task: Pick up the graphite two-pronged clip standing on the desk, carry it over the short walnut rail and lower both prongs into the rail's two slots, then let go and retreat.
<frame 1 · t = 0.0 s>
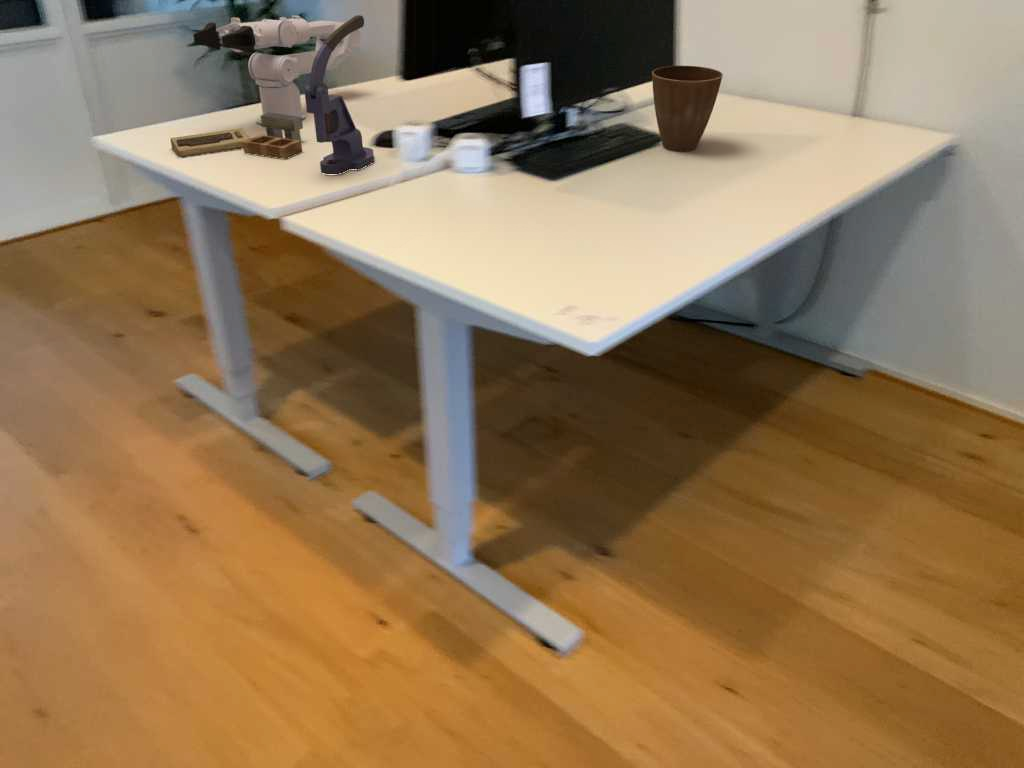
hand: (209, 40, 181), 22 cm above the table, tool horizontal, fingers open, 7 cm apart
rail: (273, 152, 186), on the table
hand press: (348, 165, 179), on the table
computer: (212, 151, 189), on the table
clip: (284, 140, 194), on the table
plant pot: (679, 147, 191), on the table
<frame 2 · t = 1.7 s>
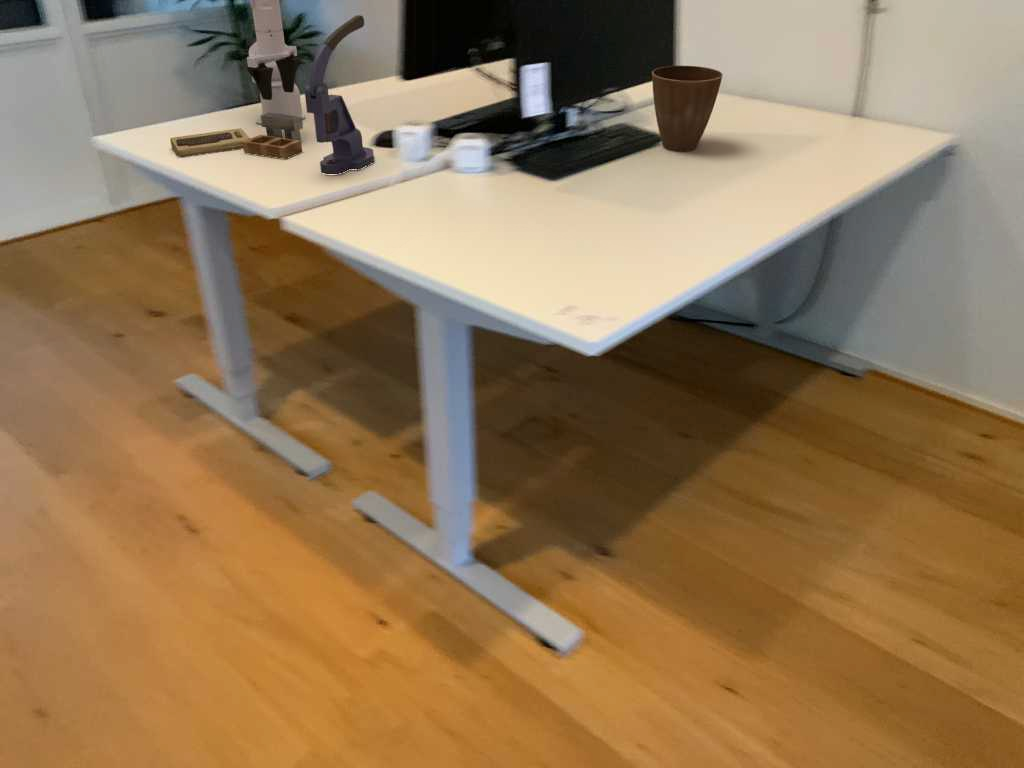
hand: (278, 95, 189), 10 cm above the table, tool pointing down, fingers open, 7 cm apart
nothing on the table moved.
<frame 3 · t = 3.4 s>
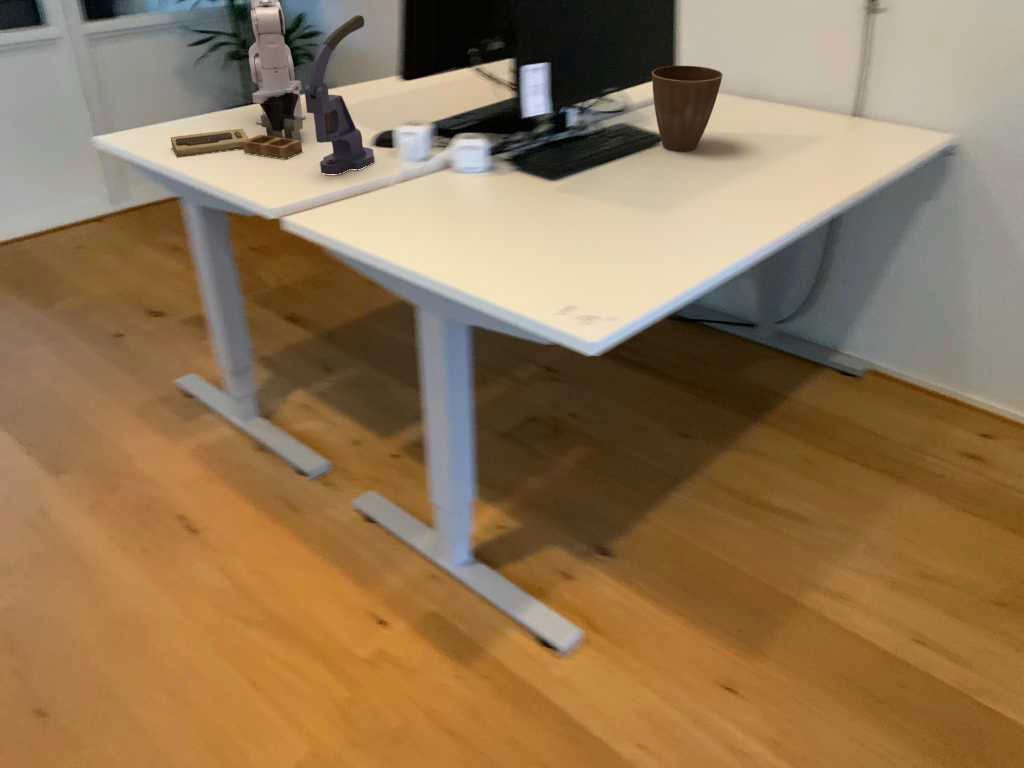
hand: (282, 129, 193), 3 cm above the table, tool pointing down, fingers closed on clip, 3 cm apart
clip: (284, 140, 194), on the table, touching gripper
everything else where it was.
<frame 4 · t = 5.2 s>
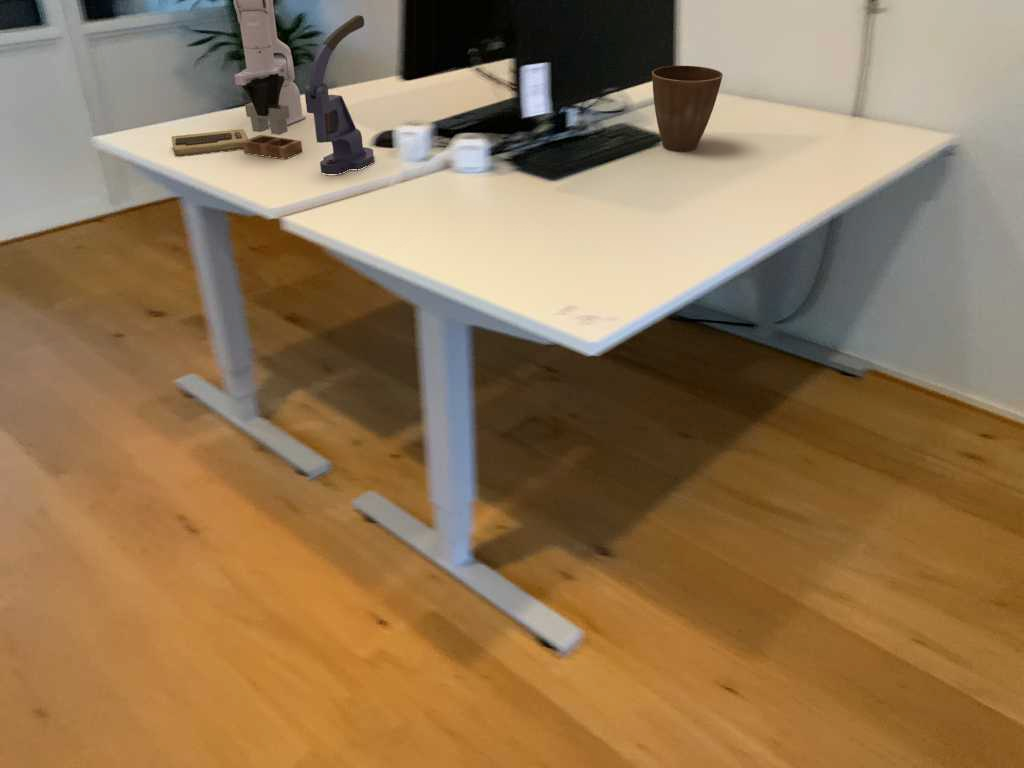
hand: (267, 113, 182), 8 cm above the table, tool pointing down, fingers closed on clip, 3 cm apart
clip: (270, 131, 184), point 5 cm above the table, touching gripper
everything else where it was.
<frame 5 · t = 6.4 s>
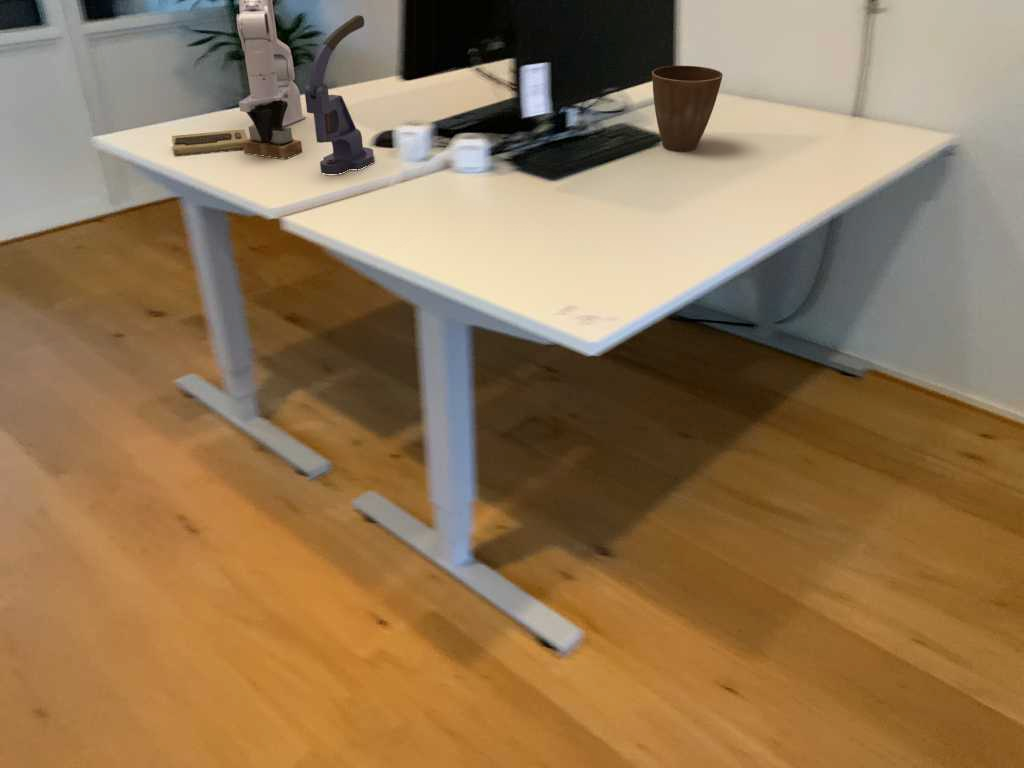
hand: (271, 138, 184), 3 cm above the table, tool pointing down, fingers closed on clip, 3 cm apart
clip: (273, 152, 186), resting in rail, touching gripper
everything else where it was.
when the fingers open (3 cm above the table, at t = 6.8 s): clip stays where it is, resting in rail.
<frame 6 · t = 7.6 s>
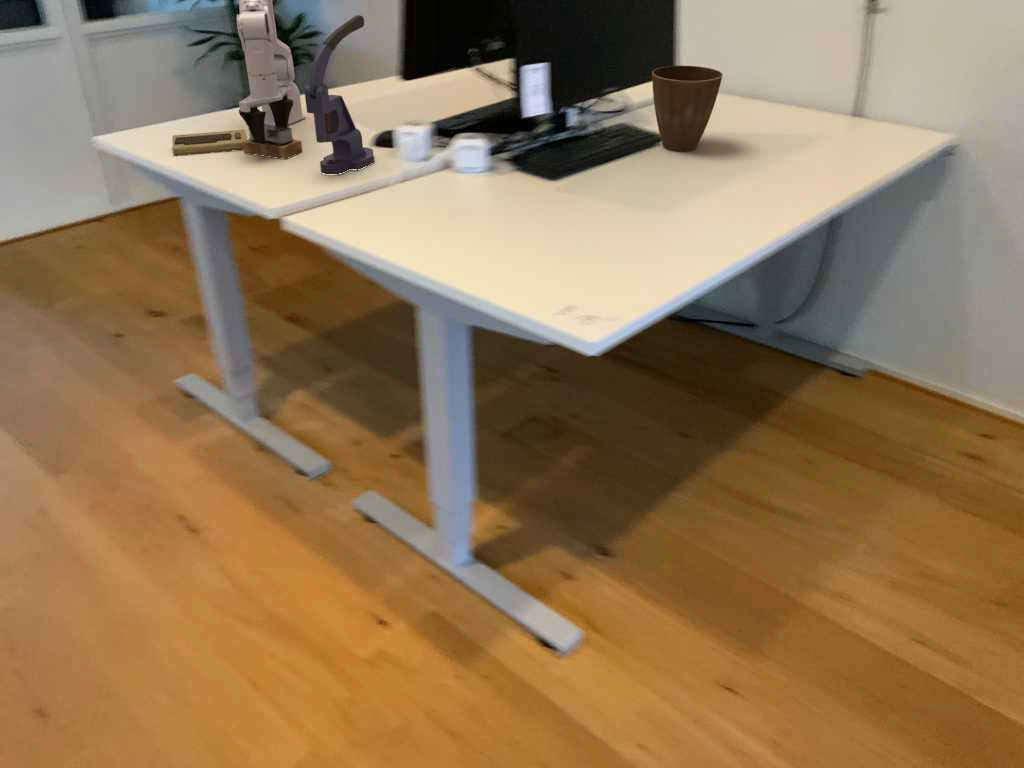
hand: (271, 138, 185), 3 cm above the table, tool pointing down, fingers open, 7 cm apart
clip: (273, 152, 186), resting in rail
everything else where it was.
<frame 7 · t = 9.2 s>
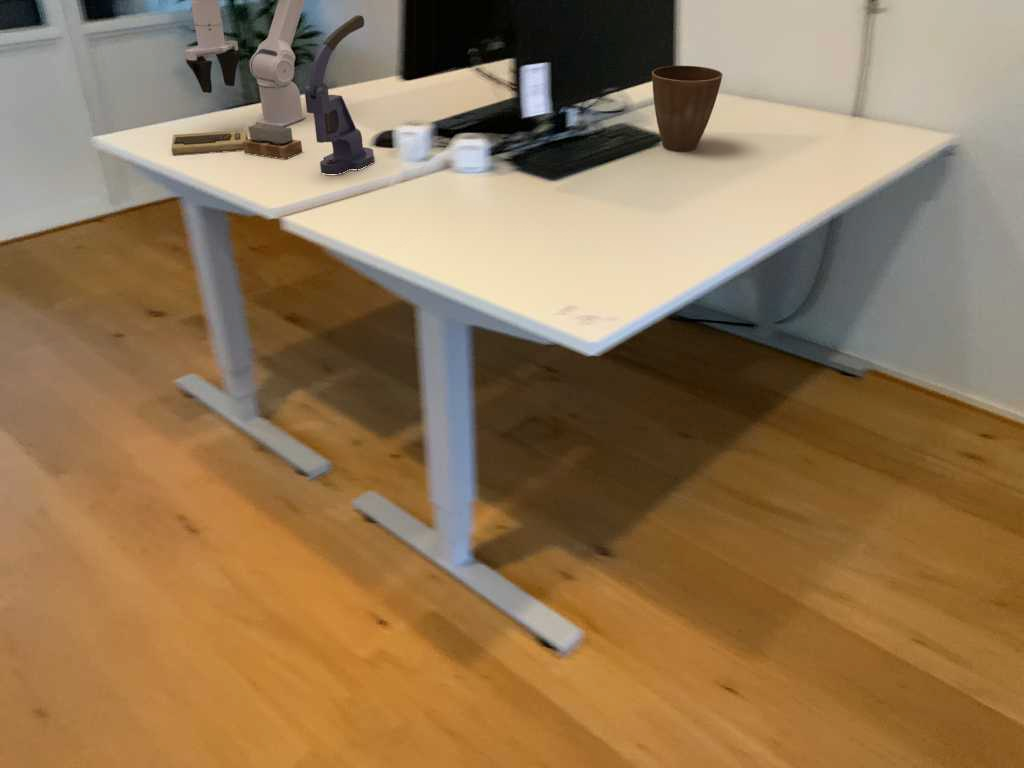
hand: (218, 88, 192), 10 cm above the table, tool pointing down, fingers open, 7 cm apart
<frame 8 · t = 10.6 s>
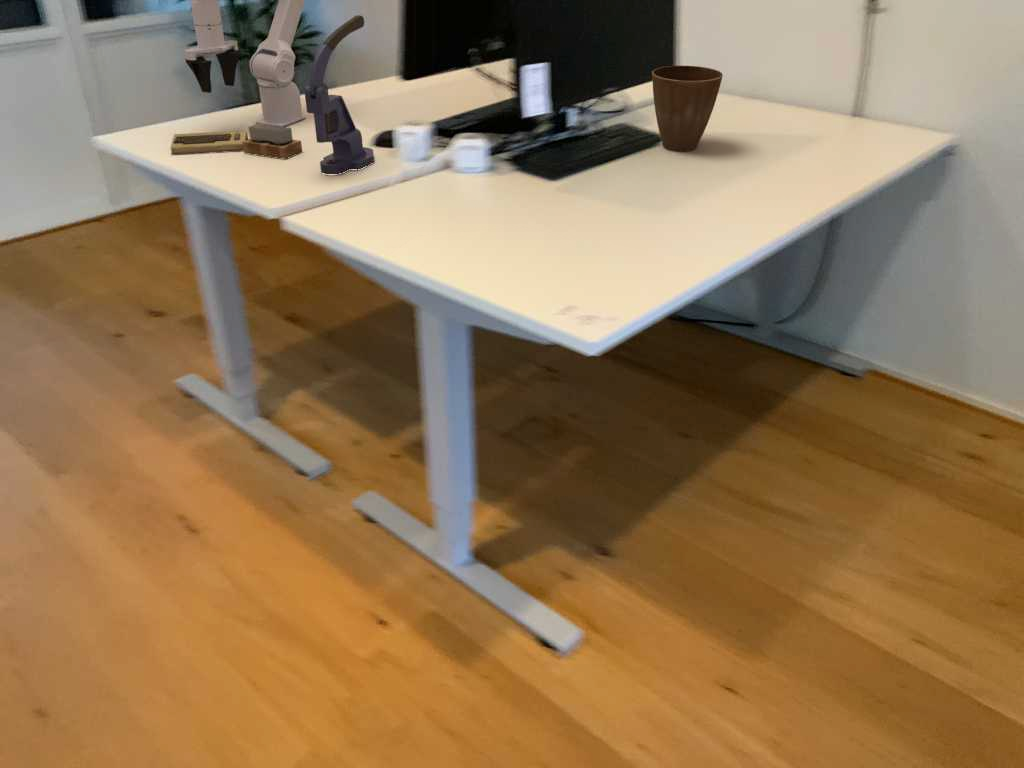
hand: (218, 88, 192), 10 cm above the table, tool pointing down, fingers open, 7 cm apart
at the end: clip 0.0 cm off-centre on the rail, point 0.0 cm above the rail's base; clip tilted 0°; the gripper is holding nothing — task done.
